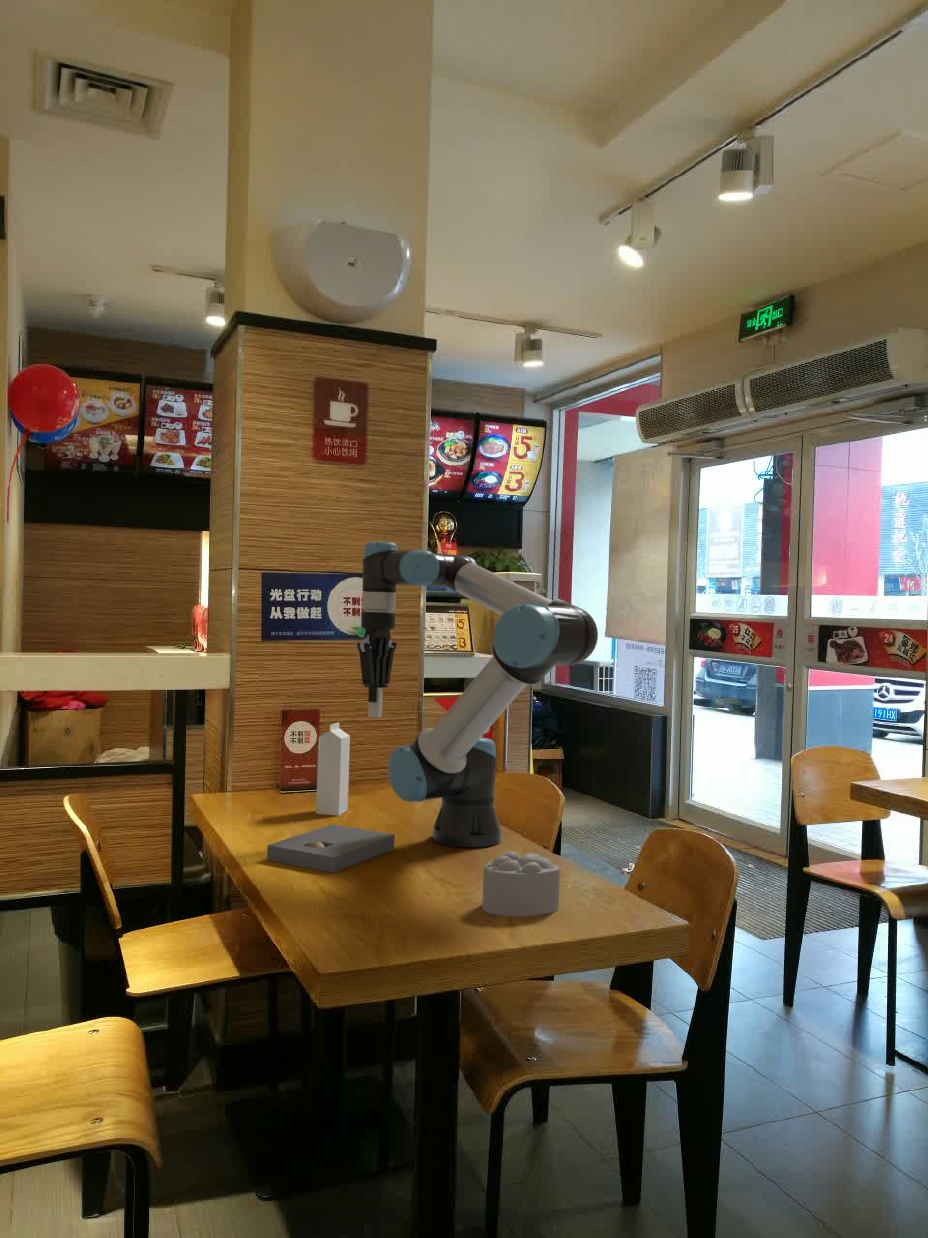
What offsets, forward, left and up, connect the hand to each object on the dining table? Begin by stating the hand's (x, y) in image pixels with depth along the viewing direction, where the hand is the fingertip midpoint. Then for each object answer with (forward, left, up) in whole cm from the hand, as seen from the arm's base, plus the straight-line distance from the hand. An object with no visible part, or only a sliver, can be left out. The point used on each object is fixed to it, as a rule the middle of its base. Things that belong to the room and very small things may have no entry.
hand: (375, 716), depth 209 cm
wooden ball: (-2, +24, -25) cm, 34 cm away
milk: (+20, -13, -27) cm, 36 cm away
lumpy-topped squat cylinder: (-49, +29, -27) cm, 63 cm away
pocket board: (-3, +19, -26) cm, 33 cm away
